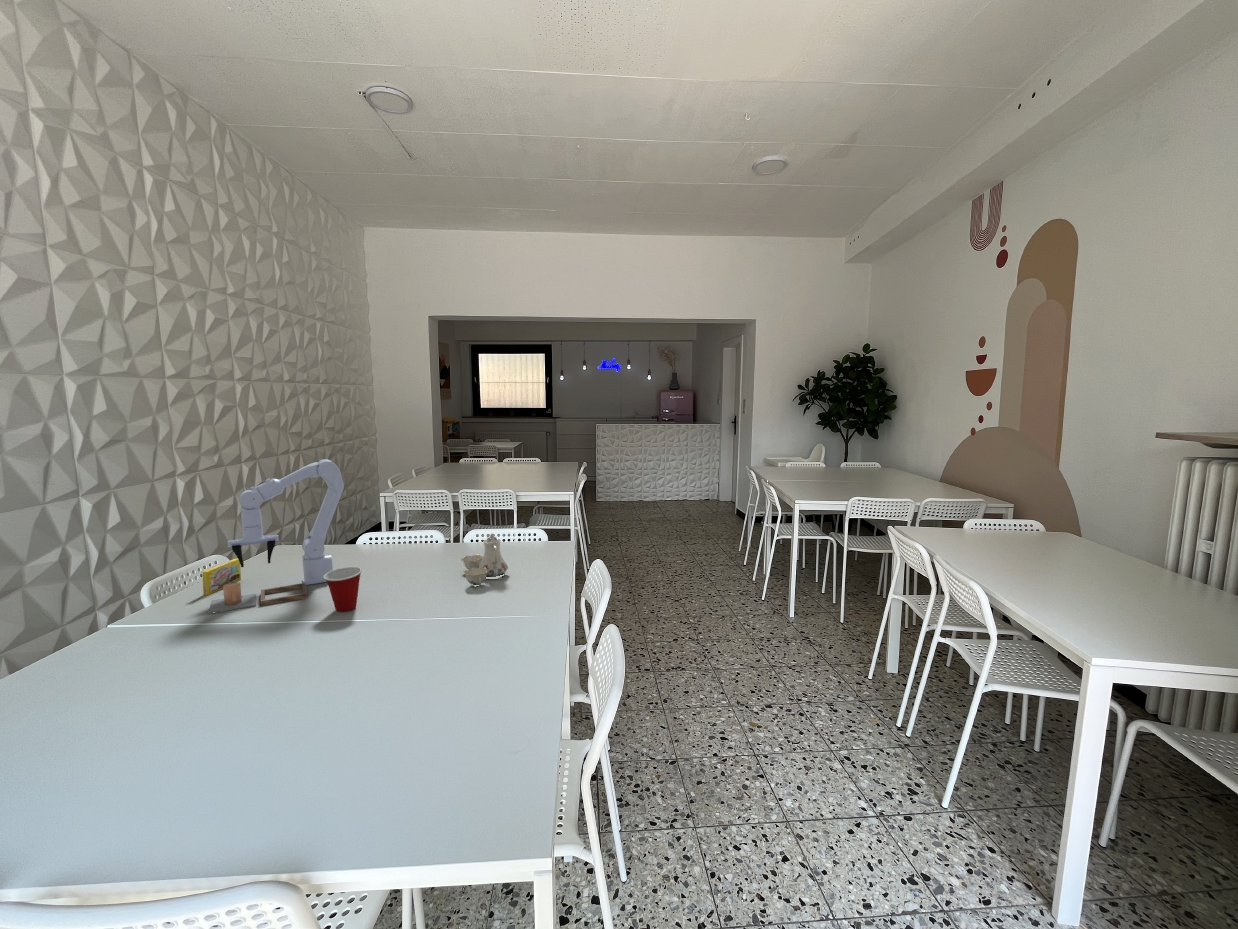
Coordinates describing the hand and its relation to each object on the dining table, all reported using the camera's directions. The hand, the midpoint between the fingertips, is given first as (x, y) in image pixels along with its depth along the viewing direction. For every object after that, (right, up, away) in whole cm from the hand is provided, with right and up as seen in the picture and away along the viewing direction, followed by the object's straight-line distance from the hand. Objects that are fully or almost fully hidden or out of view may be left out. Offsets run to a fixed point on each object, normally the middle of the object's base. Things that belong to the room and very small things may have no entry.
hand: (255, 564), depth 192 cm
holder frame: (+12, -10, -5) cm, 16 cm away
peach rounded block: (+1, -10, -12) cm, 16 cm away
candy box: (-14, -9, +5) cm, 18 cm away
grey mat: (0, -11, -12) cm, 16 cm away
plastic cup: (+39, -11, -16) cm, 43 cm away
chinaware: (+75, -7, +14) cm, 77 cm away
